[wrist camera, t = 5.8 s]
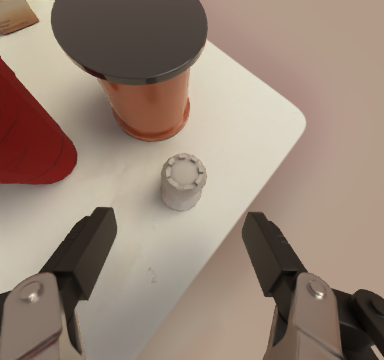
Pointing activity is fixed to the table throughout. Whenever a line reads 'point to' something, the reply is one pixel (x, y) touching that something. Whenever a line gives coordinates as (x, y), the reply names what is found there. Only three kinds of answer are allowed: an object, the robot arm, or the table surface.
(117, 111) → the cup stand
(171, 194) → the rook chess piece
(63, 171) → the plastic cup
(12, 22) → the cream cardboard carton
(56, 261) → the robot arm
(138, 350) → the table surface
